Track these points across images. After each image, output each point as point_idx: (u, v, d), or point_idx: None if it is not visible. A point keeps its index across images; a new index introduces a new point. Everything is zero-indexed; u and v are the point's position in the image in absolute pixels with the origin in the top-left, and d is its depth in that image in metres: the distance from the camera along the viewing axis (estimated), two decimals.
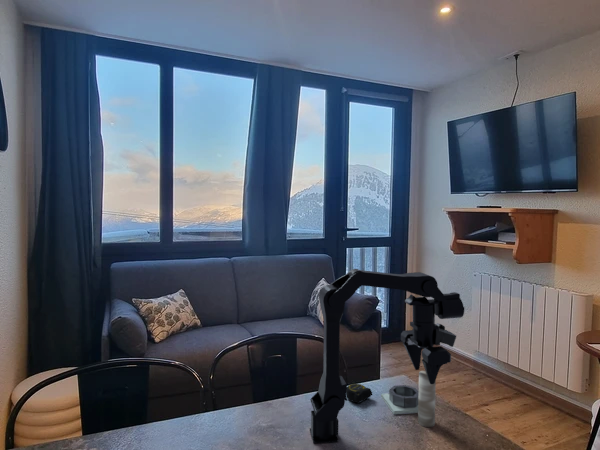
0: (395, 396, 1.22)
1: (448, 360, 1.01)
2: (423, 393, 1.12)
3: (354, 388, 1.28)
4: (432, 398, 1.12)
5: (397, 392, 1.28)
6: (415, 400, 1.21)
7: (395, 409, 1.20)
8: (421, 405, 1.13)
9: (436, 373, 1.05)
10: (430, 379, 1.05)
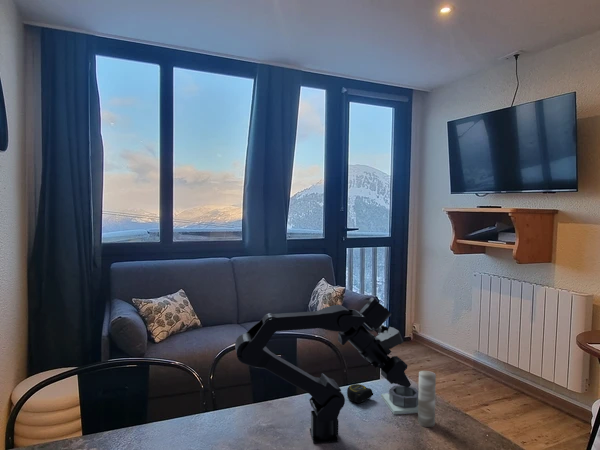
0: (395, 396, 1.22)
1: (404, 367, 1.02)
2: (423, 393, 1.12)
3: (355, 388, 1.28)
4: (432, 398, 1.12)
5: (397, 392, 1.28)
6: (415, 400, 1.21)
7: (395, 409, 1.20)
8: (421, 405, 1.13)
9: (405, 378, 1.06)
10: (405, 385, 1.06)
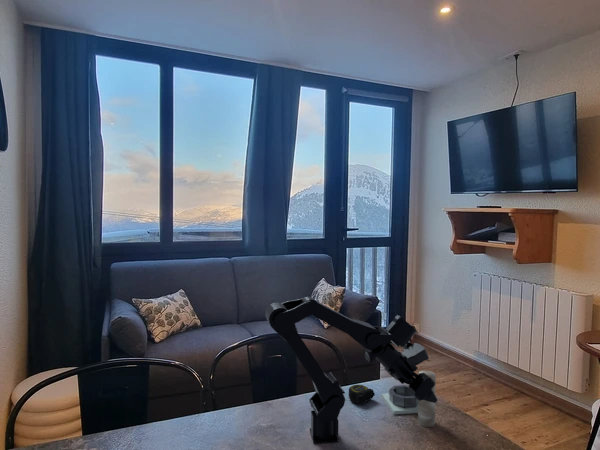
0: (395, 396, 1.22)
1: (432, 384, 1.04)
2: None
3: (356, 389, 1.28)
4: None
5: (397, 392, 1.28)
6: (415, 400, 1.21)
7: (395, 409, 1.20)
8: (421, 405, 1.13)
9: (432, 394, 1.08)
10: (432, 401, 1.09)
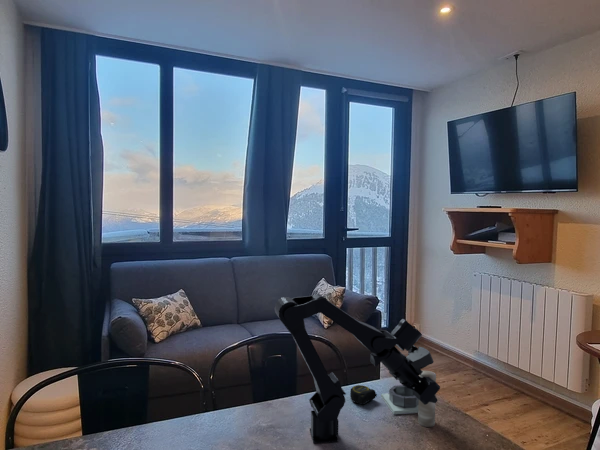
0: (395, 396, 1.22)
1: (437, 389, 1.04)
2: None
3: (358, 389, 1.27)
4: None
5: (397, 392, 1.28)
6: (415, 400, 1.21)
7: (395, 409, 1.20)
8: (421, 405, 1.13)
9: None
10: (432, 401, 1.11)
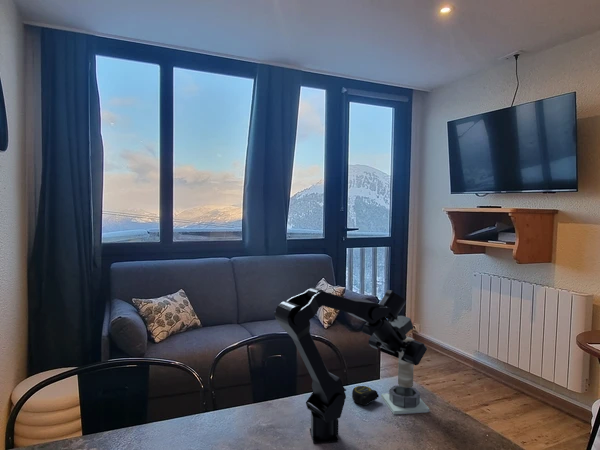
0: (395, 396, 1.22)
1: (425, 349, 1.15)
2: None
3: (360, 390, 1.27)
4: None
5: (397, 392, 1.28)
6: (415, 400, 1.21)
7: (395, 409, 1.20)
8: (402, 368, 1.22)
9: None
10: None
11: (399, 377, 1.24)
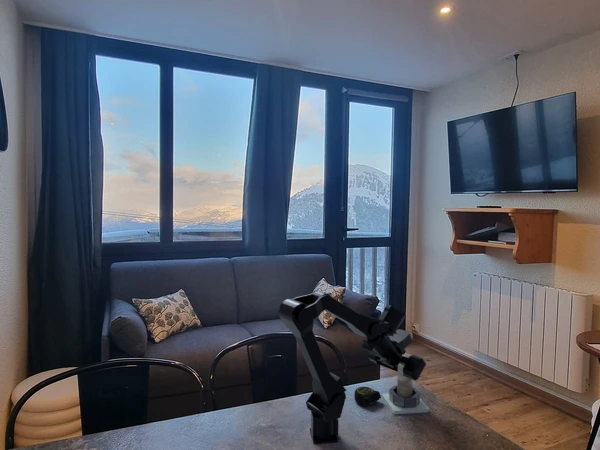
0: (395, 396, 1.22)
1: (424, 364, 1.15)
2: None
3: (362, 391, 1.26)
4: None
5: None
6: (415, 400, 1.21)
7: (395, 409, 1.20)
8: (401, 385, 1.23)
9: None
10: None
11: (398, 394, 1.24)
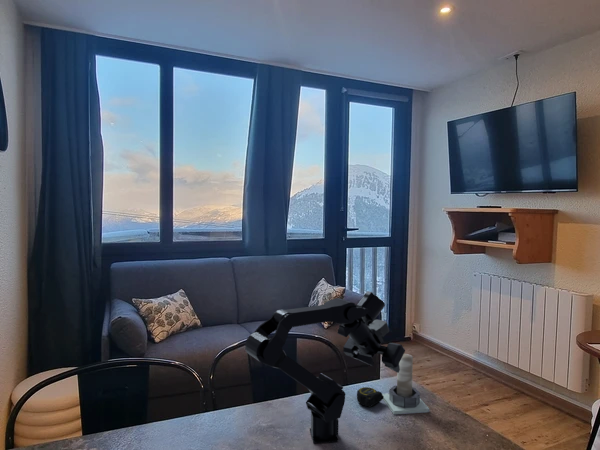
0: (395, 396, 1.22)
1: (403, 350, 1.10)
2: (404, 374, 1.22)
3: (365, 391, 1.26)
4: (411, 377, 1.23)
5: None
6: (415, 400, 1.21)
7: (395, 409, 1.20)
8: (401, 386, 1.23)
9: None
10: (397, 370, 1.14)
11: (398, 394, 1.24)
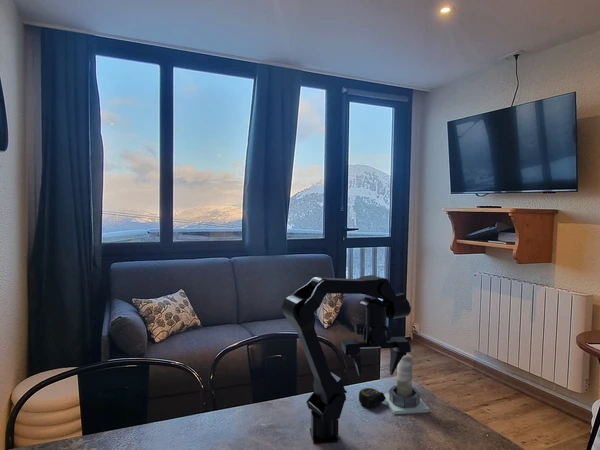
0: (395, 396, 1.22)
1: None
2: (403, 374, 1.22)
3: (367, 392, 1.25)
4: (411, 377, 1.23)
5: None
6: (415, 400, 1.21)
7: (395, 409, 1.20)
8: (401, 386, 1.23)
9: None
10: None
11: (398, 394, 1.24)
